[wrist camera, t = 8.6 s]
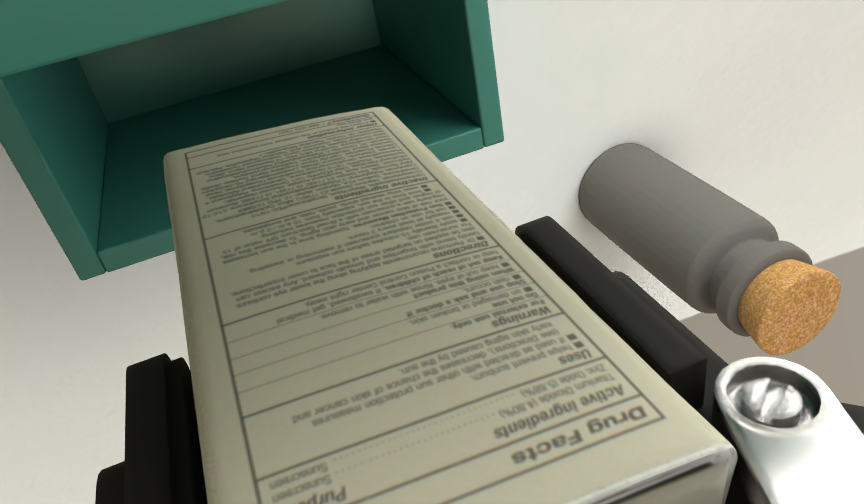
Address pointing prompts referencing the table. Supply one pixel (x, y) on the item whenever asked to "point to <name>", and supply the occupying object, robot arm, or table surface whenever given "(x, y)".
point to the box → (403, 339)
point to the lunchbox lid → (96, 25)
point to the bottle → (708, 248)
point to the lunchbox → (234, 105)
